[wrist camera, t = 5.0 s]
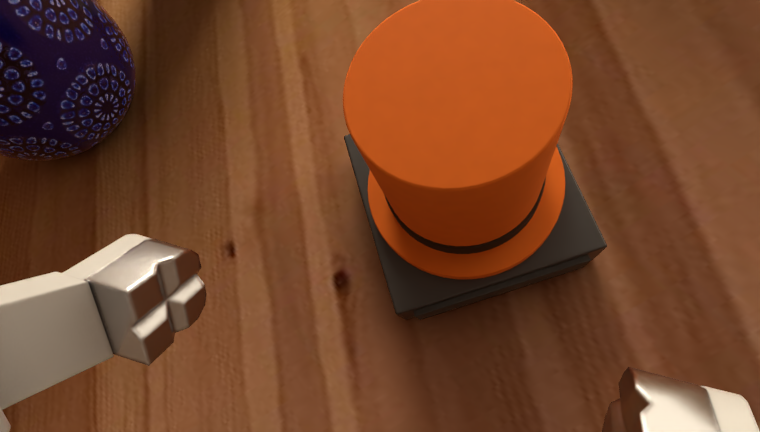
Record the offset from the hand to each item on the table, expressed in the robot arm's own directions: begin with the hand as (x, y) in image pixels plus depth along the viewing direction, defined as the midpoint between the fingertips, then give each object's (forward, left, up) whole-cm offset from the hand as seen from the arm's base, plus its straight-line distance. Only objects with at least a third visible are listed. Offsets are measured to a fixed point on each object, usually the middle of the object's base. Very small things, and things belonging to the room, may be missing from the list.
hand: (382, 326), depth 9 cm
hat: (+6, -3, -11) cm, 13 cm away
